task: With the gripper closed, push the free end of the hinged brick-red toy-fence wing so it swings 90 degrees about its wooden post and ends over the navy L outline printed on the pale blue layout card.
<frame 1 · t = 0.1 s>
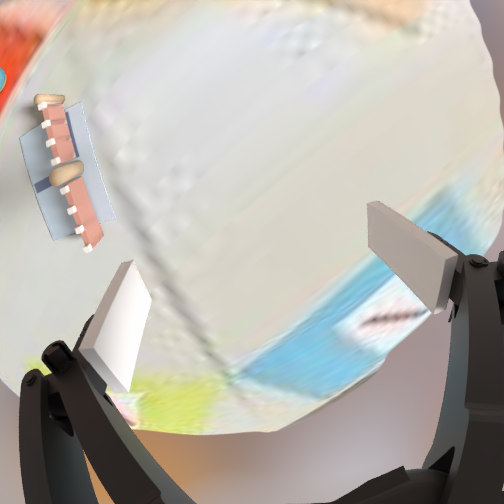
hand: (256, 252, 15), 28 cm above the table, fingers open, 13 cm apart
layout card: (62, 174, 36), on the table
fence wing: (82, 213, 36), point 4 cm above the table, hinge at 0.0°
toy: (2, 82, 25), on the table
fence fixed: (78, 167, 36), on the table
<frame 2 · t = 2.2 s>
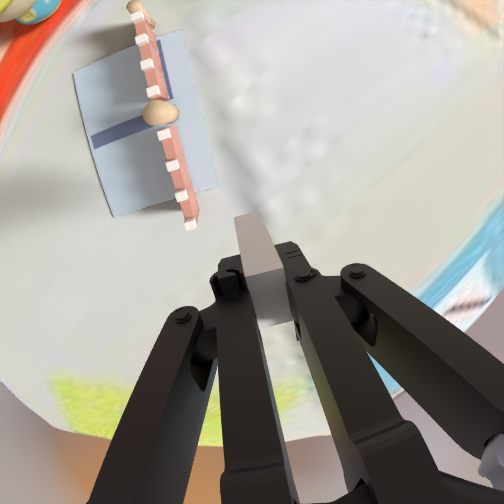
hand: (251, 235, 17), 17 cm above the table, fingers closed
layout card: (141, 123, 27), on the table
fence wing: (180, 174, 27), point 4 cm above the table, hinge at 0.0°
toy: (51, 9, 17), on the table
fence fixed: (169, 113, 27), on the table
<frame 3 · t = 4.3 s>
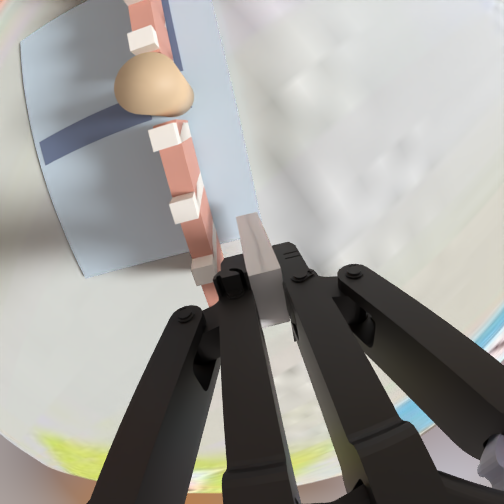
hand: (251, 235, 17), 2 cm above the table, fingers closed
layout card: (122, 116, 14), on the table
fence wing: (197, 219, 14), point 4 cm above the table, hinge at -0.1°, touching gripper
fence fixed: (174, 98, 14), on the table
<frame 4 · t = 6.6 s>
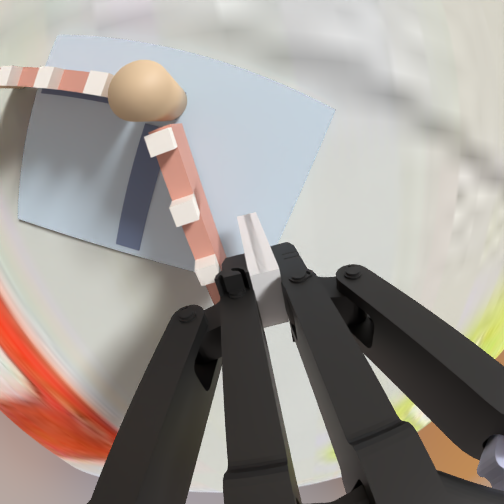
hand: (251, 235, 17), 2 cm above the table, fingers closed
layout card: (150, 155, 16), on the table
fence wing: (198, 220, 14), point 4 cm above the table, hinge at -53.9°, touching gripper
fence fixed: (168, 102, 15), on the table
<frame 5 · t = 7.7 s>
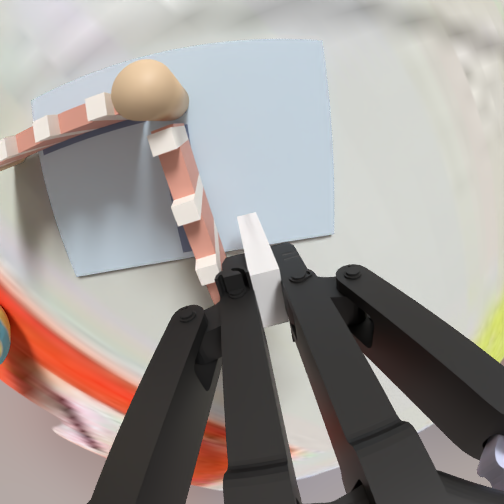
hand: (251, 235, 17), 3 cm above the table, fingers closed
layout card: (178, 155, 16), on the table
fence wing: (199, 220, 15), point 4 cm above the table, hinge at -82.1°, touching gripper
toy: (0, 309, 19), on the table
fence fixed: (170, 102, 15), on the table
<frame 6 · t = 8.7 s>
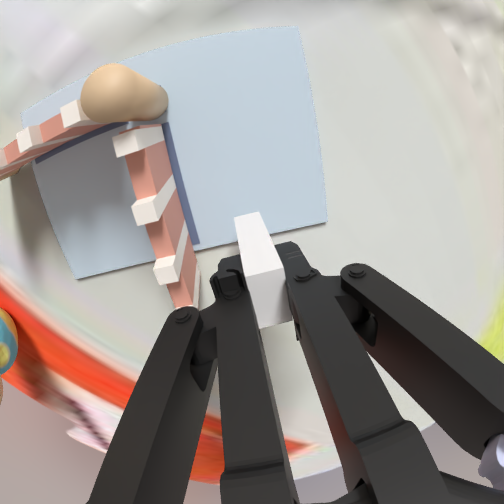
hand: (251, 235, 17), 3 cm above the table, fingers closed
layout card: (162, 153, 16), on the table
fence wing: (165, 221, 14), point 4 cm above the table, hinge at -90.6°
toy: (7, 316, 20), on the table
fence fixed: (150, 102, 15), on the table
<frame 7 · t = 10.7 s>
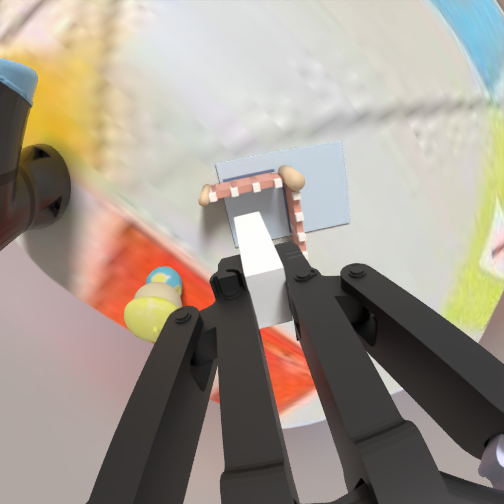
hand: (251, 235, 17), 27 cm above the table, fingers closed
layout card: (288, 193, 43), on the table
fence wing: (296, 220, 41), point 4 cm above the table, hinge at -90.6°
toy: (167, 274, 48), on the table
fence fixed: (284, 172, 41), on the table
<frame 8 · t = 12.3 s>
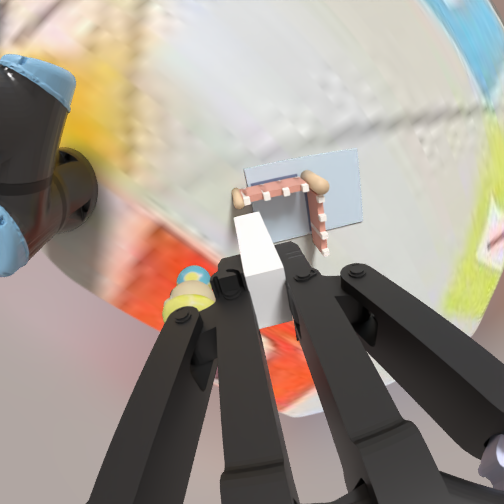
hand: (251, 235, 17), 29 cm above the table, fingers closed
layout card: (309, 195, 47), on the table
fence wing: (318, 220, 45), point 4 cm above the table, hinge at -90.6°
toy: (195, 273, 51), on the table
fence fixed: (306, 176, 45), on the table
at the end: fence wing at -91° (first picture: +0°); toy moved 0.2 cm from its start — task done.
